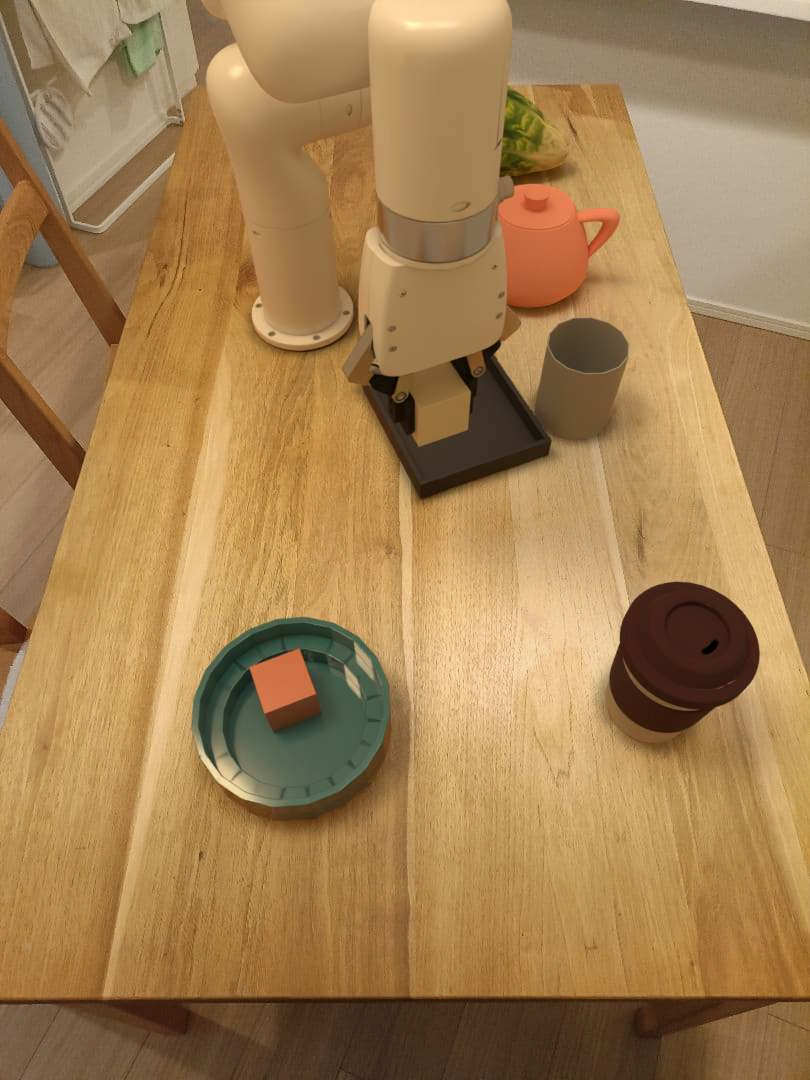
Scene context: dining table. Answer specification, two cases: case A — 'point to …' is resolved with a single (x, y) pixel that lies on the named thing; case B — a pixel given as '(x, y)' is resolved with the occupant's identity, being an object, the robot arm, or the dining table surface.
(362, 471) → the dining table surface
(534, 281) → the teapot
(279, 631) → the bowl
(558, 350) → the cup
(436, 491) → the tray
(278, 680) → the block
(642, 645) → the coffee cup
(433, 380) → the block
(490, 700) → the dining table surface
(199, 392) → the dining table surface
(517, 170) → the lettuce
